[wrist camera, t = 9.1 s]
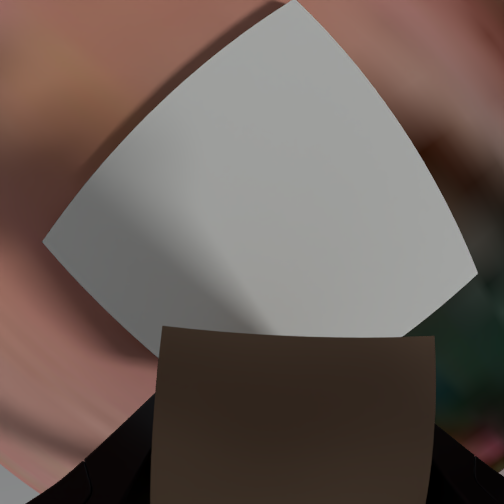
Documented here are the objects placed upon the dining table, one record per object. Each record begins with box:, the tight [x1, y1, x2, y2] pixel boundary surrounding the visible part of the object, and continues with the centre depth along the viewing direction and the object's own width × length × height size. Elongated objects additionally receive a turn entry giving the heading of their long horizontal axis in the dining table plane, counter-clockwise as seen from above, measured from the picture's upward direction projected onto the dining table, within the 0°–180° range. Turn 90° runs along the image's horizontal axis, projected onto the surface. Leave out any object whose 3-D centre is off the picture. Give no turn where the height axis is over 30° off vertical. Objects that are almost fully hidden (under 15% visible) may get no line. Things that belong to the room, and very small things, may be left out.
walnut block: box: [150, 326, 436, 504], centre depth 9 cm, size 5×5×10 cm
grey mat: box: [42, 0, 478, 358], centre depth 14 cm, size 16×16×1 cm
